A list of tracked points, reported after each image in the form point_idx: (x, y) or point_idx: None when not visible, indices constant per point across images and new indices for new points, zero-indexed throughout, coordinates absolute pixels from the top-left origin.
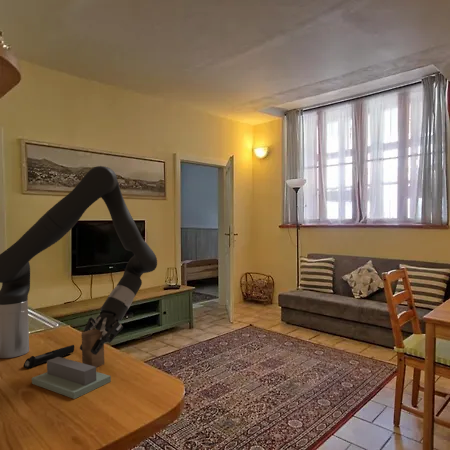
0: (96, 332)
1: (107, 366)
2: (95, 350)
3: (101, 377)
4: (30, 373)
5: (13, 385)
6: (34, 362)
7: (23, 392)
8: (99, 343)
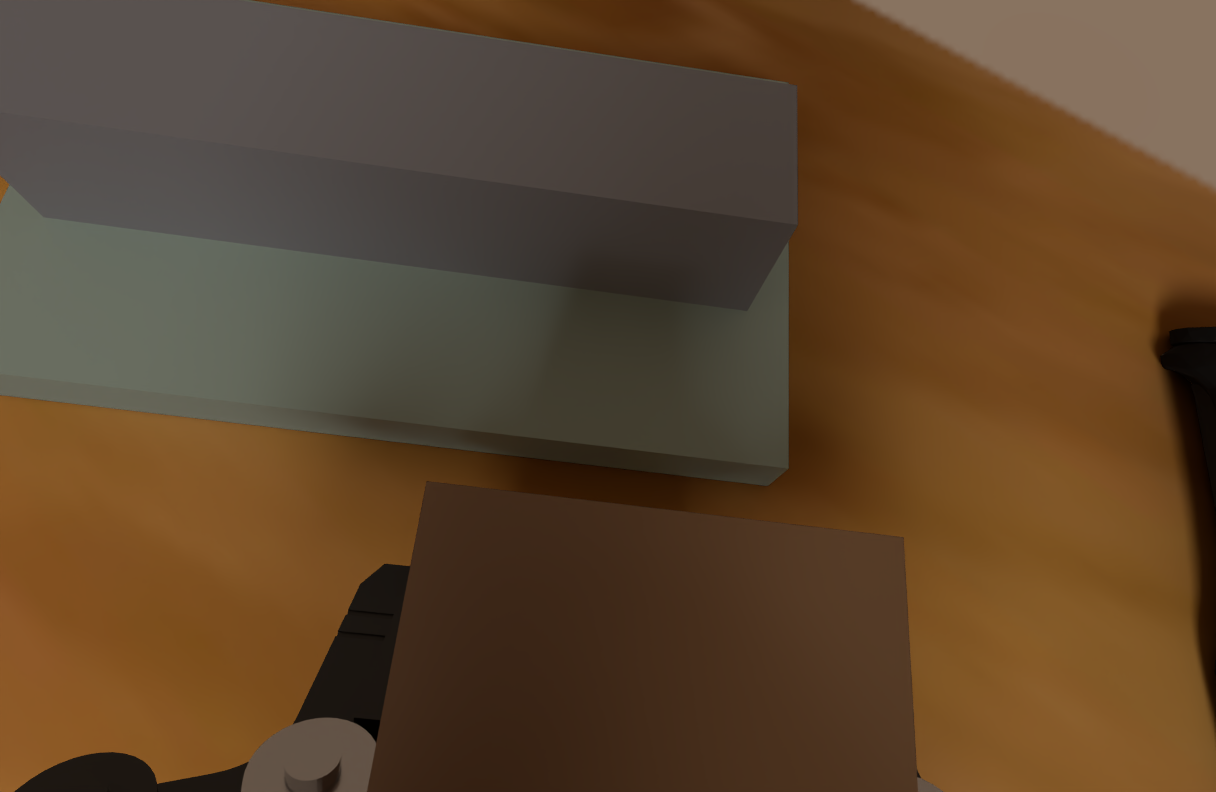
0: (430, 762)
1: None
2: (377, 582)
3: (26, 291)
4: (1023, 266)
5: (879, 63)
6: (1208, 365)
7: (672, 6)
8: (315, 682)
